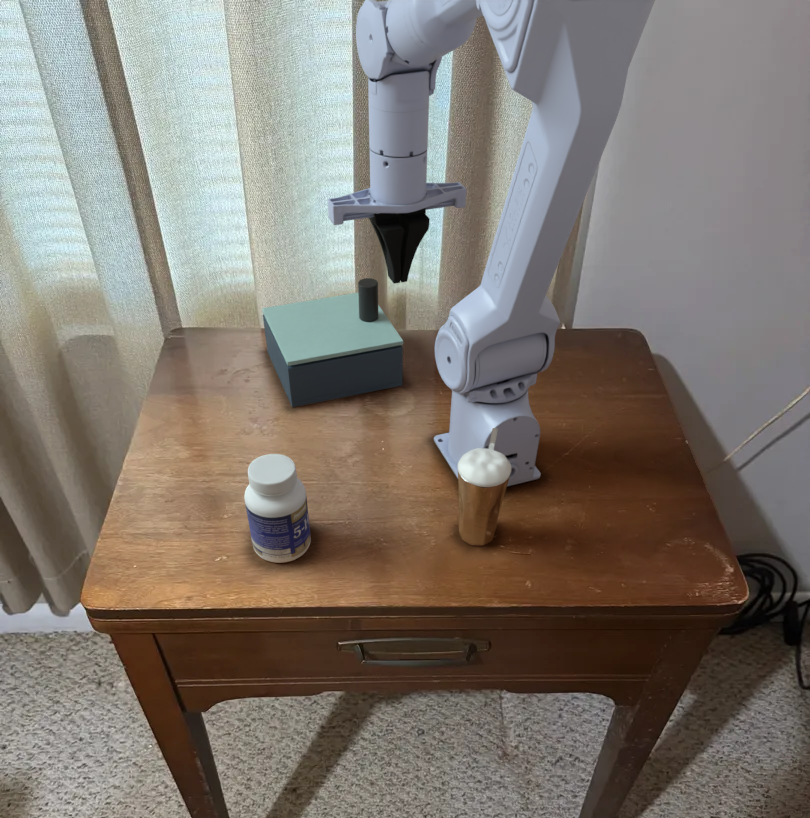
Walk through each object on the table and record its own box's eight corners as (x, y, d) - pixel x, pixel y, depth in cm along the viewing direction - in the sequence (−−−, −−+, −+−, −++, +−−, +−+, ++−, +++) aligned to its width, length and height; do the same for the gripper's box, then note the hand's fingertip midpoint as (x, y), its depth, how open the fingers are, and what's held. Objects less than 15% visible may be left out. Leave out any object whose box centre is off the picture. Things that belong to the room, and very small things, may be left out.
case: (402, 385, 87) (403, 347, 83) (292, 407, 83) (287, 368, 80) (369, 333, 94) (368, 296, 91) (267, 352, 91) (262, 314, 88)
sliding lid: (403, 344, 83) (404, 305, 80) (287, 366, 80) (283, 326, 76) (369, 294, 91) (368, 256, 87) (262, 312, 87) (257, 273, 84)
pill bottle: (307, 565, 67) (299, 490, 61) (248, 563, 67) (234, 489, 61) (314, 523, 71) (306, 449, 64) (258, 522, 71) (245, 447, 64)
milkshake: (508, 517, 72) (521, 433, 64) (494, 556, 68) (506, 472, 61) (462, 506, 73) (470, 422, 65) (446, 544, 69) (452, 459, 62)
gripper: (450, 127, 79) (444, 253, 88) (316, 142, 75) (324, 272, 85) (478, 150, 74) (468, 281, 84) (336, 167, 70) (343, 301, 80)
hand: (397, 278), depth 84 cm, fingers closed
